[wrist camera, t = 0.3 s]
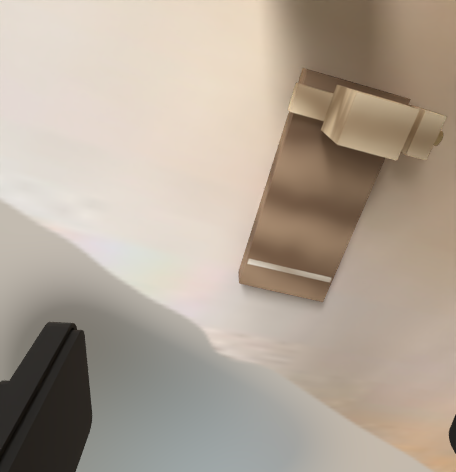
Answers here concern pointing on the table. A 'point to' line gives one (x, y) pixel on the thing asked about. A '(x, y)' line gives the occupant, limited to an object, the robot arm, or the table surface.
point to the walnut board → (309, 203)
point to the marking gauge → (370, 121)
